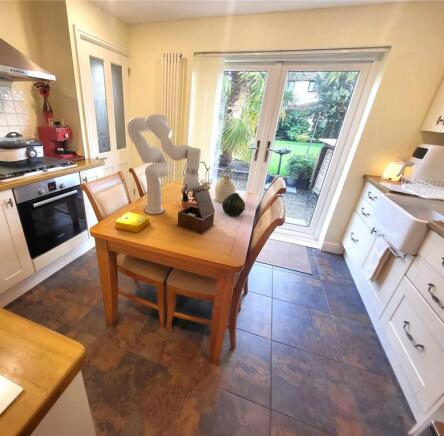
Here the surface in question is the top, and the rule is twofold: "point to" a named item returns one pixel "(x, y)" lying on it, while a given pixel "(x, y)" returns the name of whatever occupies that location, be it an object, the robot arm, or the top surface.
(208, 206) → the lid
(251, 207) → the top surface
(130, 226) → the element tile
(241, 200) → the squash
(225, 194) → the cream vase
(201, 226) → the chest
